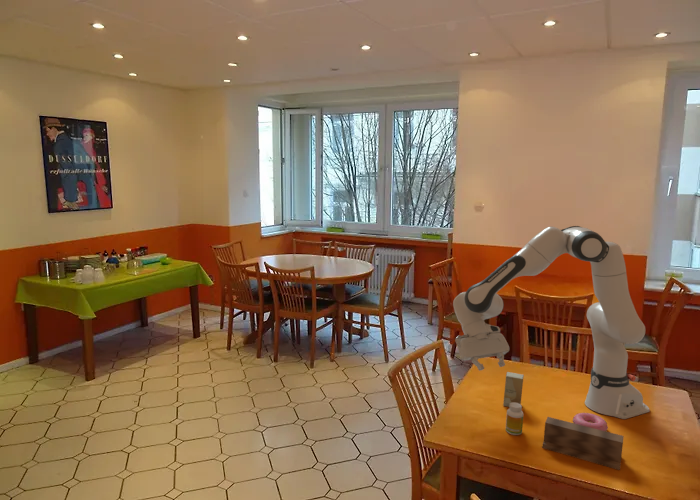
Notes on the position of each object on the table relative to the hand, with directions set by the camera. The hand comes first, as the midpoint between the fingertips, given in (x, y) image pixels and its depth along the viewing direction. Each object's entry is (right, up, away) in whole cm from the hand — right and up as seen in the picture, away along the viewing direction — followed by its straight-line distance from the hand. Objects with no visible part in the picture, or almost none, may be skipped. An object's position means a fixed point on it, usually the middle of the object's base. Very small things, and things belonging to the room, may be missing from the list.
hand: (492, 367), depth 175 cm
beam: (+22, -22, -20) cm, 37 cm away
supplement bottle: (+5, -20, -8) cm, 22 cm away
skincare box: (+11, -17, +10) cm, 23 cm away
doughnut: (+32, -20, -6) cm, 38 cm away
